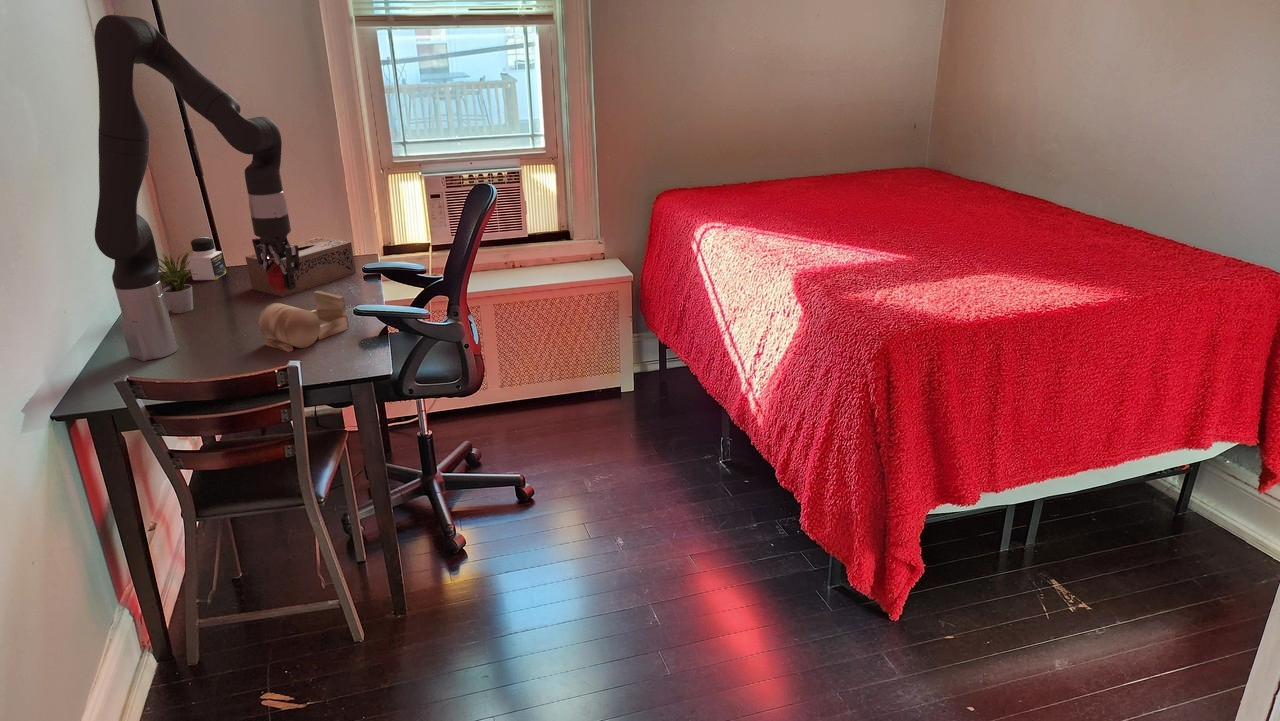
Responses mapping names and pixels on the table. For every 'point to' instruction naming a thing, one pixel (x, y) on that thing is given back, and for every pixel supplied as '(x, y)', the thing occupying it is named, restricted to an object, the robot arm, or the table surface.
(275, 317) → the roller
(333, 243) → the tissue box cover
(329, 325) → the pit walls
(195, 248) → the medicine bottle
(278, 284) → the onion
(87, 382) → the table surface
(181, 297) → the house plant
